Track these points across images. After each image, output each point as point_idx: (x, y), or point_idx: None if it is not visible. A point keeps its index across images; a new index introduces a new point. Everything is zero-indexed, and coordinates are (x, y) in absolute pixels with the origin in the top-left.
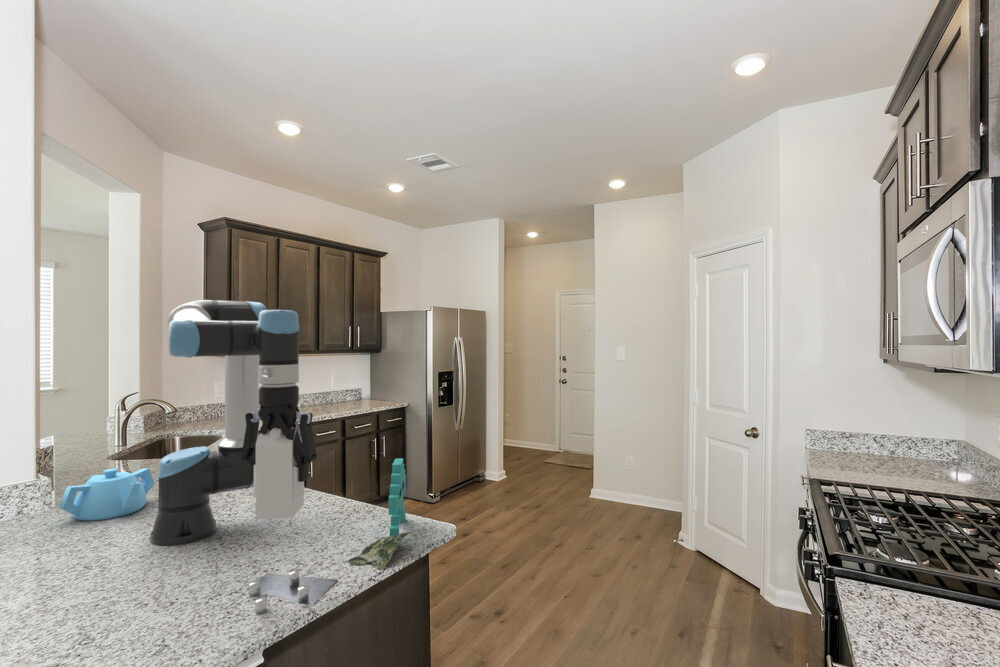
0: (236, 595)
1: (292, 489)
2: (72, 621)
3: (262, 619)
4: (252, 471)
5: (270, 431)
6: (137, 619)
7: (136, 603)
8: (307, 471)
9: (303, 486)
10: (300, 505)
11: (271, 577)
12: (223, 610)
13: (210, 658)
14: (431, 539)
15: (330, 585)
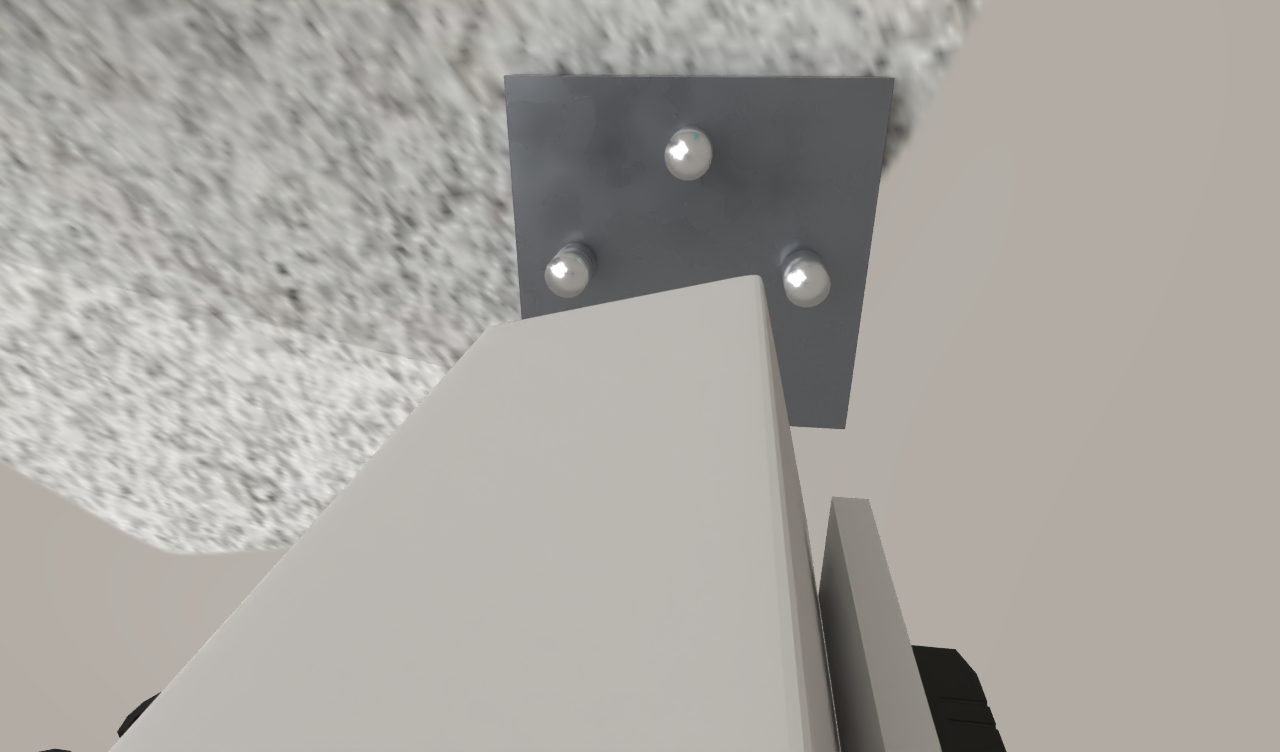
0: (477, 218)
1: (829, 677)
2: (115, 420)
3: None
4: None
5: None
6: (283, 393)
7: (180, 314)
8: (1001, 740)
9: (883, 564)
10: (778, 367)
11: (551, 113)
12: (510, 318)
13: None
14: None
15: (879, 143)
